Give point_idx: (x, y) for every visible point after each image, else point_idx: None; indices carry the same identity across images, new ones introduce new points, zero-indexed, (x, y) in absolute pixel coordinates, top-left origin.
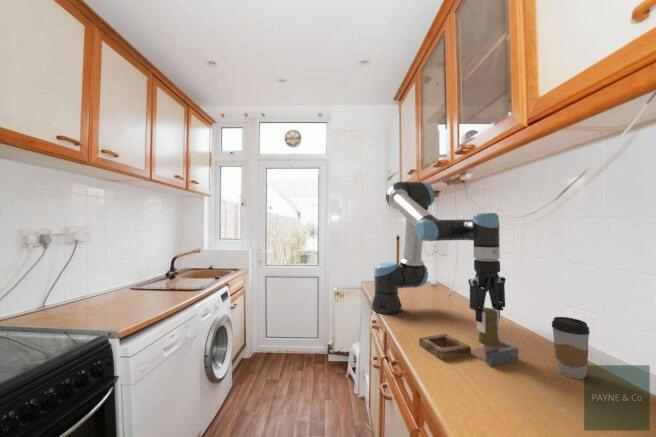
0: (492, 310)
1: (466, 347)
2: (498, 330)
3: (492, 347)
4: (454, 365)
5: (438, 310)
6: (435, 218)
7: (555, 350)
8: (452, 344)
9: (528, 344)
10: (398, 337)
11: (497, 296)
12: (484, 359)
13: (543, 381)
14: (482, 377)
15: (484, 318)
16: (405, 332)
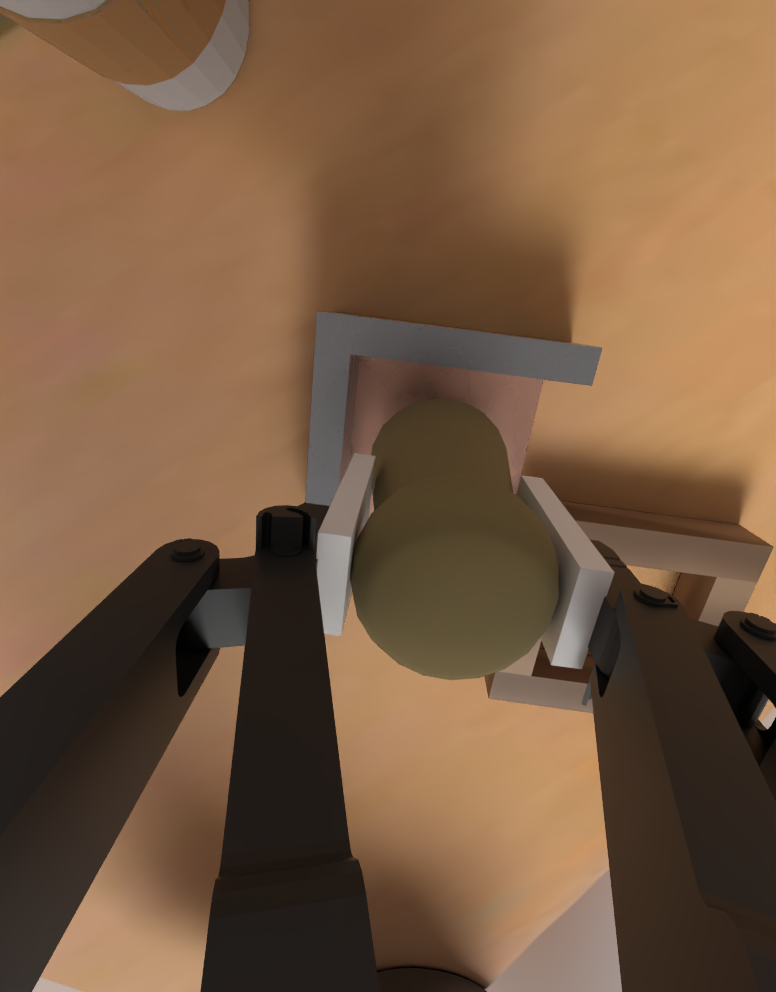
0: (457, 550)
1: None
2: (366, 455)
3: None
4: (737, 454)
5: (164, 910)
6: None
7: (179, 8)
8: None
9: (58, 424)
10: None
11: (274, 694)
12: (524, 414)
13: (464, 48)
14: (747, 280)
15: (571, 533)
16: (584, 815)
